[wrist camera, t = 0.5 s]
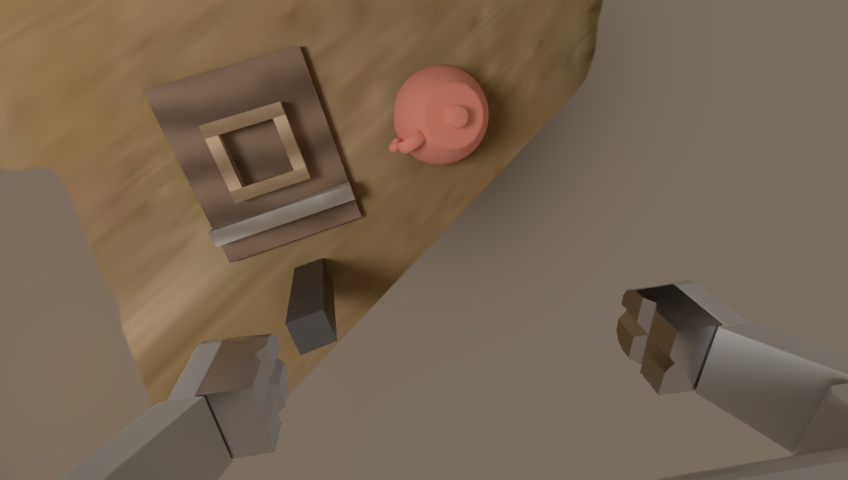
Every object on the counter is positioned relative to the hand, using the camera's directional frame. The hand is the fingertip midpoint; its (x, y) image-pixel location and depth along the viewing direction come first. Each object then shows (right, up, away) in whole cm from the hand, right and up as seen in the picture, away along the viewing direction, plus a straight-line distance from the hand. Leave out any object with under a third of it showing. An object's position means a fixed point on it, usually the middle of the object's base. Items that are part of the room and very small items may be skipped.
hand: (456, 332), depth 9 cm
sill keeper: (-21, +13, +41) cm, 48 cm away
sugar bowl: (0, +18, +45) cm, 49 cm away
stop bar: (-16, -3, +48) cm, 50 cm away
